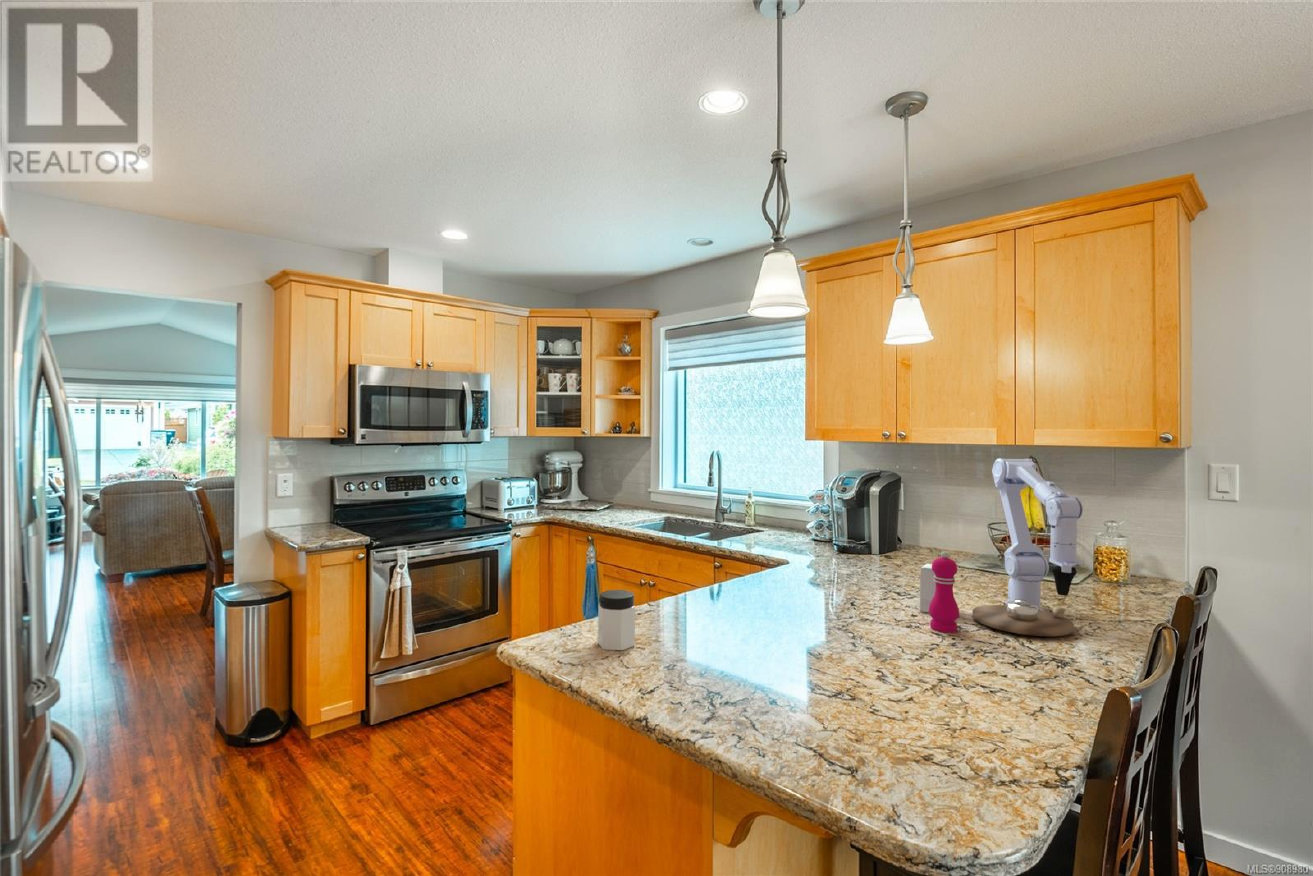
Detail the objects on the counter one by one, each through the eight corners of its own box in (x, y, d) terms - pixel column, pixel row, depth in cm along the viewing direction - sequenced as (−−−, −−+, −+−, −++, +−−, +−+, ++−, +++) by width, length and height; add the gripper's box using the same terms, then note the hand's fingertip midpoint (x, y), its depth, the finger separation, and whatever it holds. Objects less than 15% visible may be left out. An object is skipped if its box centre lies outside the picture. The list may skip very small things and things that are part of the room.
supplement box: (947, 616, 169) (947, 570, 169) (918, 611, 174) (919, 567, 174) (953, 610, 175) (953, 566, 175) (925, 605, 180) (926, 562, 180)
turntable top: (960, 621, 162) (960, 608, 162) (986, 604, 178) (987, 592, 178) (1063, 643, 146) (1063, 628, 146) (1082, 622, 162) (1082, 608, 162)
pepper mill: (952, 625, 162) (953, 549, 162) (963, 634, 154) (964, 554, 154) (924, 624, 162) (925, 548, 162) (933, 632, 155) (935, 553, 155)
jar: (595, 640, 147) (595, 590, 147) (628, 637, 150) (628, 588, 150) (603, 653, 139) (603, 600, 139) (638, 649, 141) (638, 597, 141)
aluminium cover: (1004, 617, 161) (1004, 600, 161) (1009, 612, 167) (1010, 595, 167) (1035, 623, 157) (1035, 606, 157) (1039, 617, 162) (1040, 600, 162)
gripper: (1086, 549, 152) (1085, 603, 153) (1077, 540, 165) (1076, 590, 165) (1052, 546, 156) (1051, 599, 156) (1046, 537, 169) (1045, 587, 169)
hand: (1062, 594), depth 161 cm, fingers closed
